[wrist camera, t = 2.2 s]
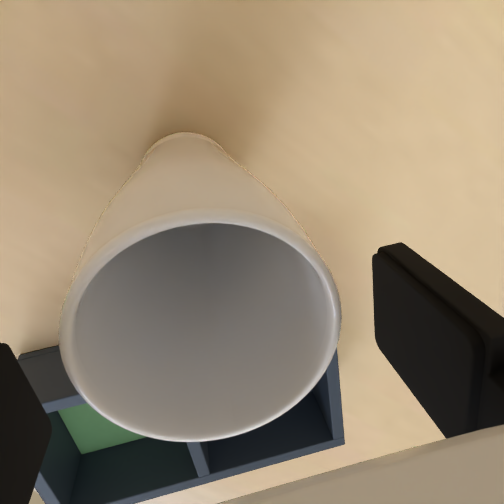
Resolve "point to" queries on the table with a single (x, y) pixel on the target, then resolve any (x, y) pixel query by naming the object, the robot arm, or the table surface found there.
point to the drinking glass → (197, 301)
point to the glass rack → (162, 443)
